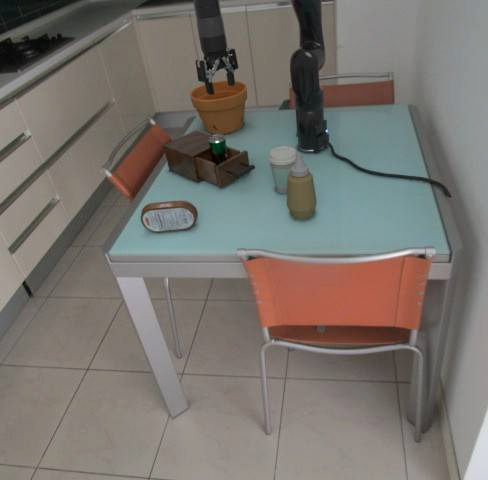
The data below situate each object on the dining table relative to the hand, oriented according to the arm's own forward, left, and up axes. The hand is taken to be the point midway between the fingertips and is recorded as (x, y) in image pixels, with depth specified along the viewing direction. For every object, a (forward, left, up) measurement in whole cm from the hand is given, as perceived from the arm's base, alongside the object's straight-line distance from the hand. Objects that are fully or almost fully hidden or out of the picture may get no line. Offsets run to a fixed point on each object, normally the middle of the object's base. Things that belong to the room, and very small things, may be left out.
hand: (221, 89), depth 141 cm
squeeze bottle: (-39, +11, -25) cm, 47 cm away
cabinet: (+7, +9, -25) cm, 27 cm away
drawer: (-7, +9, -24) cm, 26 cm away
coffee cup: (-26, +3, -25) cm, 36 cm away
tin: (-14, +37, -25) cm, 47 cm away
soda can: (-5, +9, -23) cm, 25 cm away
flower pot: (+25, -19, -25) cm, 40 cm away
